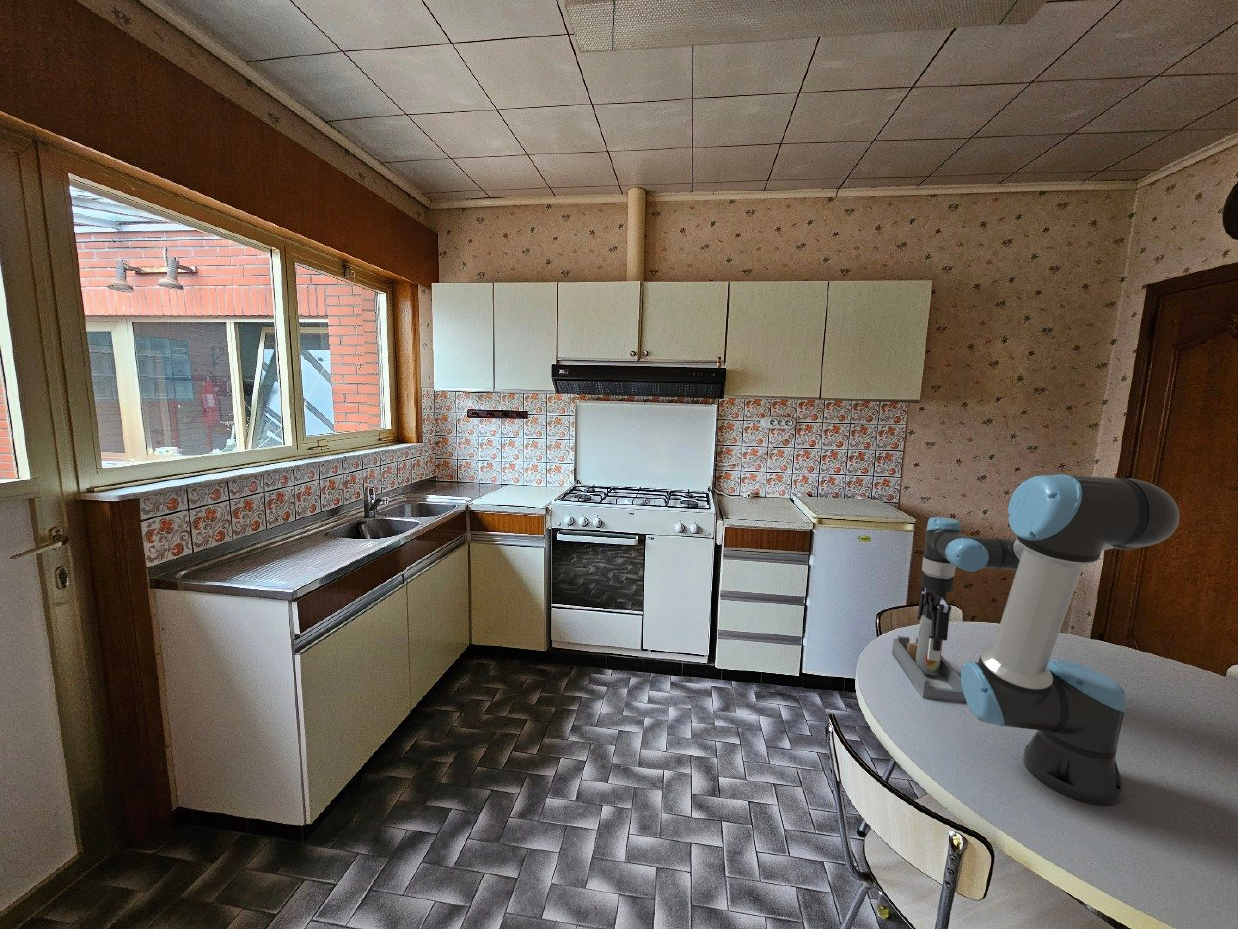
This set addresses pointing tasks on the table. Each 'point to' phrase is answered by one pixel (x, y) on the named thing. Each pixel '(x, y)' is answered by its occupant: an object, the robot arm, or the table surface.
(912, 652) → the pusher
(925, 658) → the lotion bottle
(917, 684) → the tray
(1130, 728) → the table surface
